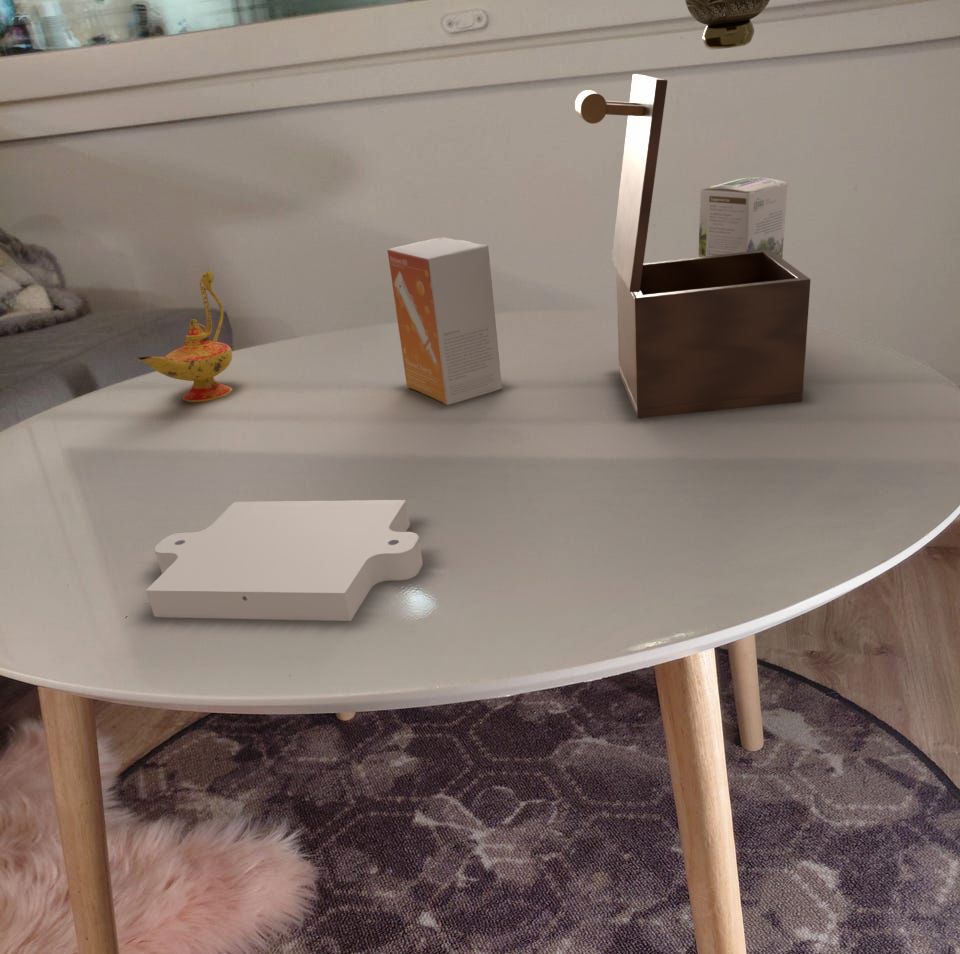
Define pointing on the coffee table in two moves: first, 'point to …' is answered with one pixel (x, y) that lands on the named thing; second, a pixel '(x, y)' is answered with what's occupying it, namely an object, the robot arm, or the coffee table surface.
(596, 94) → the lid
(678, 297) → the compartment
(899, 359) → the coffee table surface
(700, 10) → the cup
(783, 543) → the coffee table surface
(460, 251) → the small box
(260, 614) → the mounting plate
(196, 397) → the magic lamp
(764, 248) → the syrup box
